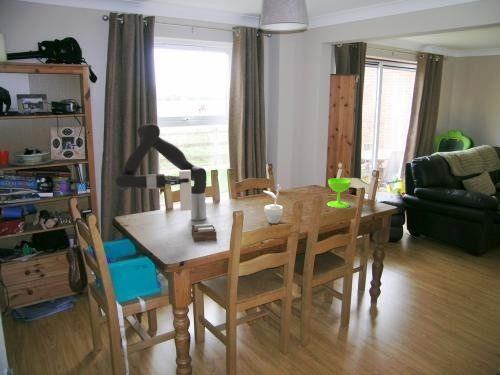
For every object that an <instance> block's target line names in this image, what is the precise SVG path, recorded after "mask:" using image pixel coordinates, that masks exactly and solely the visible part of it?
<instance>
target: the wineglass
mask: <svg viewBox="0 0 500 375" xmlns="http://www.w3.org/2000/svg"><path fill="white" fill-rule="evenodd" d="M327 182H328V186H329V188H330V189H331V190H332V191H333V192H336V193H337V195H336V196H337V197H336V200H332V201H328V202H326V206H327V205H328V207H329V206H331V207H330V208H332V207H335V208H334V209H348V208H350V207H349V205H350V204H349V203H348V202H347V201H346V202H345V201H341V193H343V192H345V191H347V190H348V189H349V188H350V186H351V185H352V180H350V179H348V178H339V177H337V178H329V179H328V181H327ZM347 207H348V208H347Z"/></svg>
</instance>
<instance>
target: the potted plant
mask: <svg viewBox="0 0 500 375" xmlns="http://www.w3.org/2000/svg"><path fill="white" fill-rule="evenodd" d="M276 186H277V189H276V190H275V191H276V194H275V193H274V192H272V191H268V190H263V193H264V194H267V195H268V196H270V197H271V198H272V199H274V203H272V204H267V205H264V215H265V216H266V218H267V219H266V220H267V222H268V223H270V224H273V223H275V224H278V223H280V221H281V220H280V219H281V217H282V215H283V214H284V206H283V205H279V204H277V200H278V197H279V196H280V195H279V194H280V189H282V187H281V184H279V182H278V183H277V184H276Z"/></svg>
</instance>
